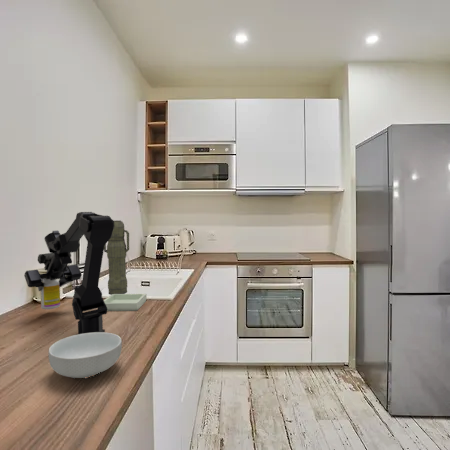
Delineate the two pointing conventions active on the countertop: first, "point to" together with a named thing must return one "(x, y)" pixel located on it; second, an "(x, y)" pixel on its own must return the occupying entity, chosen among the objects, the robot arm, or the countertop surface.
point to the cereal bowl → (85, 354)
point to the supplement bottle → (50, 294)
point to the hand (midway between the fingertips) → (48, 288)
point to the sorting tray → (125, 302)
